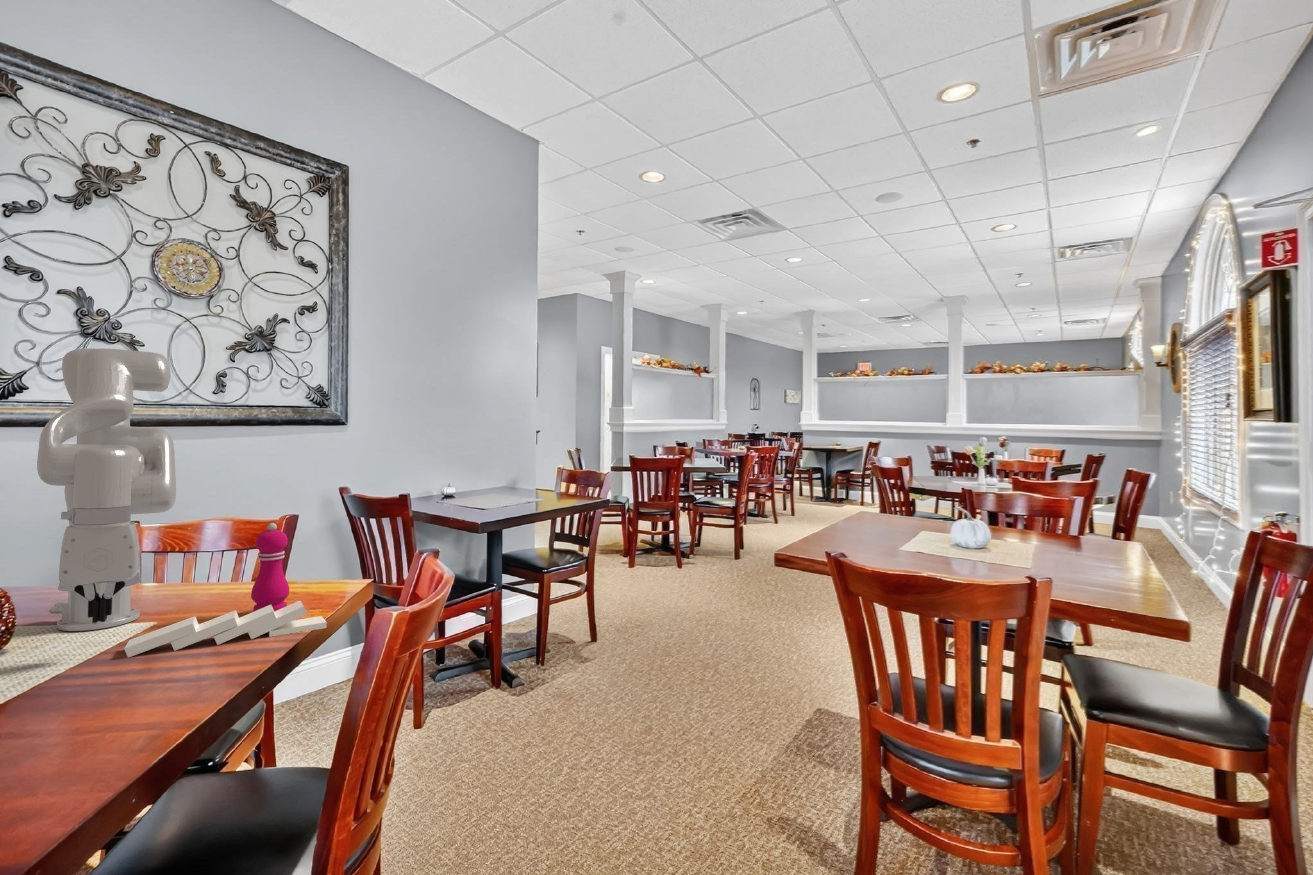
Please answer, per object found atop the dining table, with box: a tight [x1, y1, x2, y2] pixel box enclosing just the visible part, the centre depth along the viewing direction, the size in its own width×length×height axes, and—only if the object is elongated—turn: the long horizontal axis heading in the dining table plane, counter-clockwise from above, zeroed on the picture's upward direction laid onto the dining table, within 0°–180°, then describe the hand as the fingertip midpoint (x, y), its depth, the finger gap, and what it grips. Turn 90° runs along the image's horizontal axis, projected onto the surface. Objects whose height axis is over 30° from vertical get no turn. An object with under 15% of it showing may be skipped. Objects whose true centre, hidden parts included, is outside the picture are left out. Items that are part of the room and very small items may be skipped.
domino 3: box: [247, 600, 308, 640], centre depth 121 cm, size 2×5×10 cm
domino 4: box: [267, 615, 328, 638], centre depth 123 cm, size 2×5×10 cm
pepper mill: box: [250, 522, 290, 612], centre depth 134 cm, size 7×7×20 cm
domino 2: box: [213, 605, 277, 646], centre depth 118 cm, size 2×5×10 cm
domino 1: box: [170, 610, 240, 652], centre depth 114 cm, size 2×5×10 cm
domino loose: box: [124, 615, 200, 658], centre depth 111 cm, size 2×5×10 cm
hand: (99, 620), depth 106 cm, fingers closed
